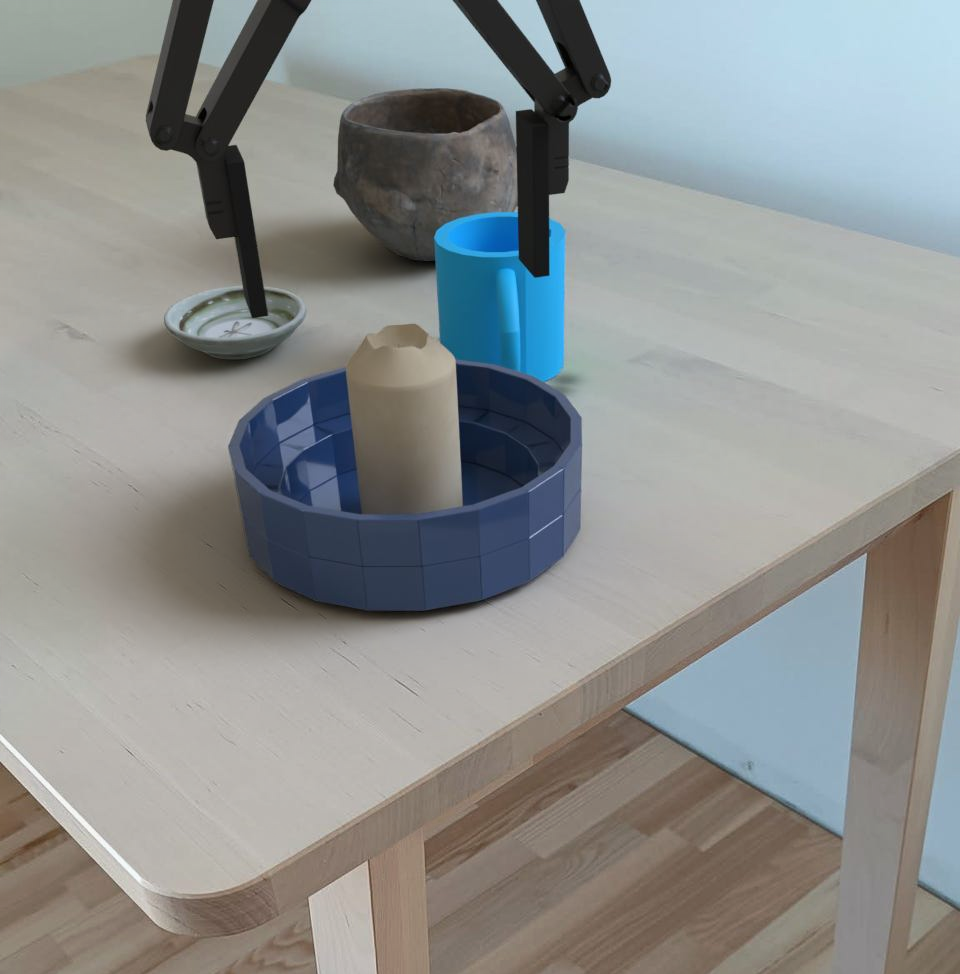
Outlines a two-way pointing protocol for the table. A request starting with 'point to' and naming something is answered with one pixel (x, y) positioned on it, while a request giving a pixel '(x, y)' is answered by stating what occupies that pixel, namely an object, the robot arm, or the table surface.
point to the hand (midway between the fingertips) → (397, 287)
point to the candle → (405, 422)
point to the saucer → (234, 322)
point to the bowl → (424, 164)
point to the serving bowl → (410, 537)
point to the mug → (499, 296)
